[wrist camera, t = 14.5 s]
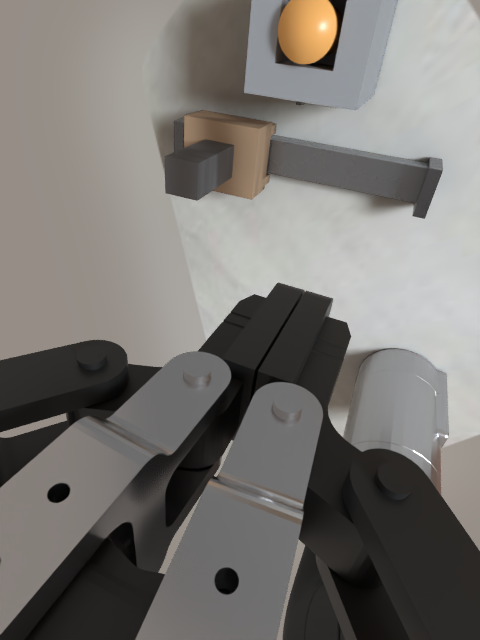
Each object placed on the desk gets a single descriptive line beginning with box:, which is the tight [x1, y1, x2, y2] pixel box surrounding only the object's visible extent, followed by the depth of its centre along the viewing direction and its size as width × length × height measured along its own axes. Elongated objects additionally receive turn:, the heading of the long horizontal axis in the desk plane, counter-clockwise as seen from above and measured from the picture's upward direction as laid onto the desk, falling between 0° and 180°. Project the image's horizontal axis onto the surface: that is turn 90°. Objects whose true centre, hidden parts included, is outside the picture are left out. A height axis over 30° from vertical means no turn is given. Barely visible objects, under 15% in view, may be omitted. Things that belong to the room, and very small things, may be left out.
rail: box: [174, 118, 443, 219], centre depth 38 cm, size 24×4×4 cm, turn 85°
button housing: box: [244, 0, 398, 110], centre depth 29 cm, size 8×9×10 cm
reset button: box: [278, 0, 344, 64], centre depth 27 cm, size 4×4×6 cm
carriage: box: [165, 110, 276, 200], centre depth 36 cm, size 7×6×12 cm
